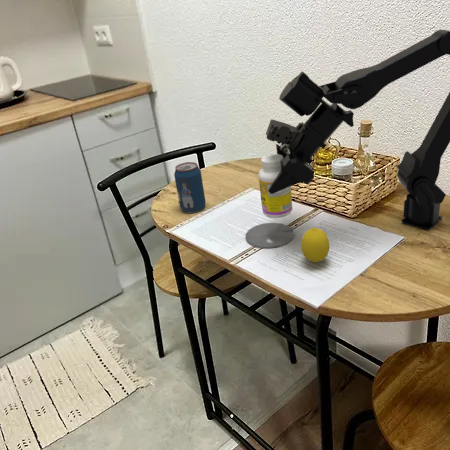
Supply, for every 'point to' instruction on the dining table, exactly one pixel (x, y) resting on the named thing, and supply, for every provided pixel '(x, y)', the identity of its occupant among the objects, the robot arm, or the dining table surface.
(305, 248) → the lemon
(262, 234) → the coaster
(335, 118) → the robot arm
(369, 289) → the dining table surface
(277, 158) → the supplement bottle
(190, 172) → the soda can
